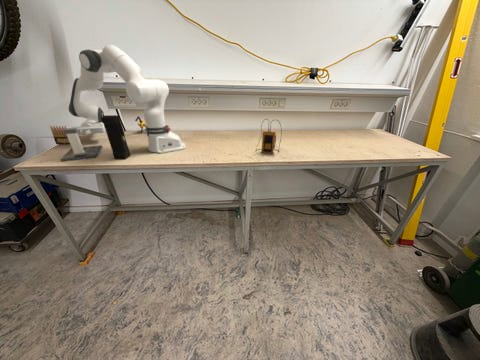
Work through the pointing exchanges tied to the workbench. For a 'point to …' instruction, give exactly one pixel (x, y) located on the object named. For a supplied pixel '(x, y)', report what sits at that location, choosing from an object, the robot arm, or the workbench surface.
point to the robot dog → (141, 123)
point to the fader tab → (74, 141)
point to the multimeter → (268, 140)
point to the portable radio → (116, 136)
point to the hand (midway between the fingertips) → (83, 133)
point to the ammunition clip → (60, 135)
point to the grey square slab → (90, 153)
